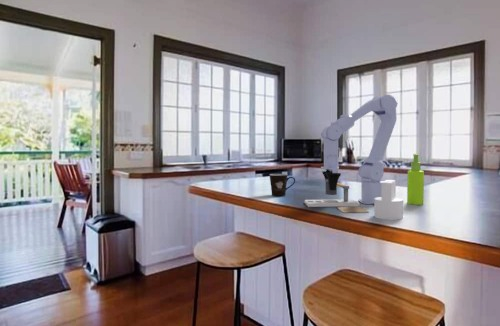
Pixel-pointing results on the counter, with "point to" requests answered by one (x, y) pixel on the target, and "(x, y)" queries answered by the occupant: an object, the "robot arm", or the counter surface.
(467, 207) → the counter surface
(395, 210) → the base with upright slab
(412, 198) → the soap dispenser
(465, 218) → the counter surface
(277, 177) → the coffee mug
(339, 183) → the clip
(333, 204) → the power strip
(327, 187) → the plug
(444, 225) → the counter surface
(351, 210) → the coaster
